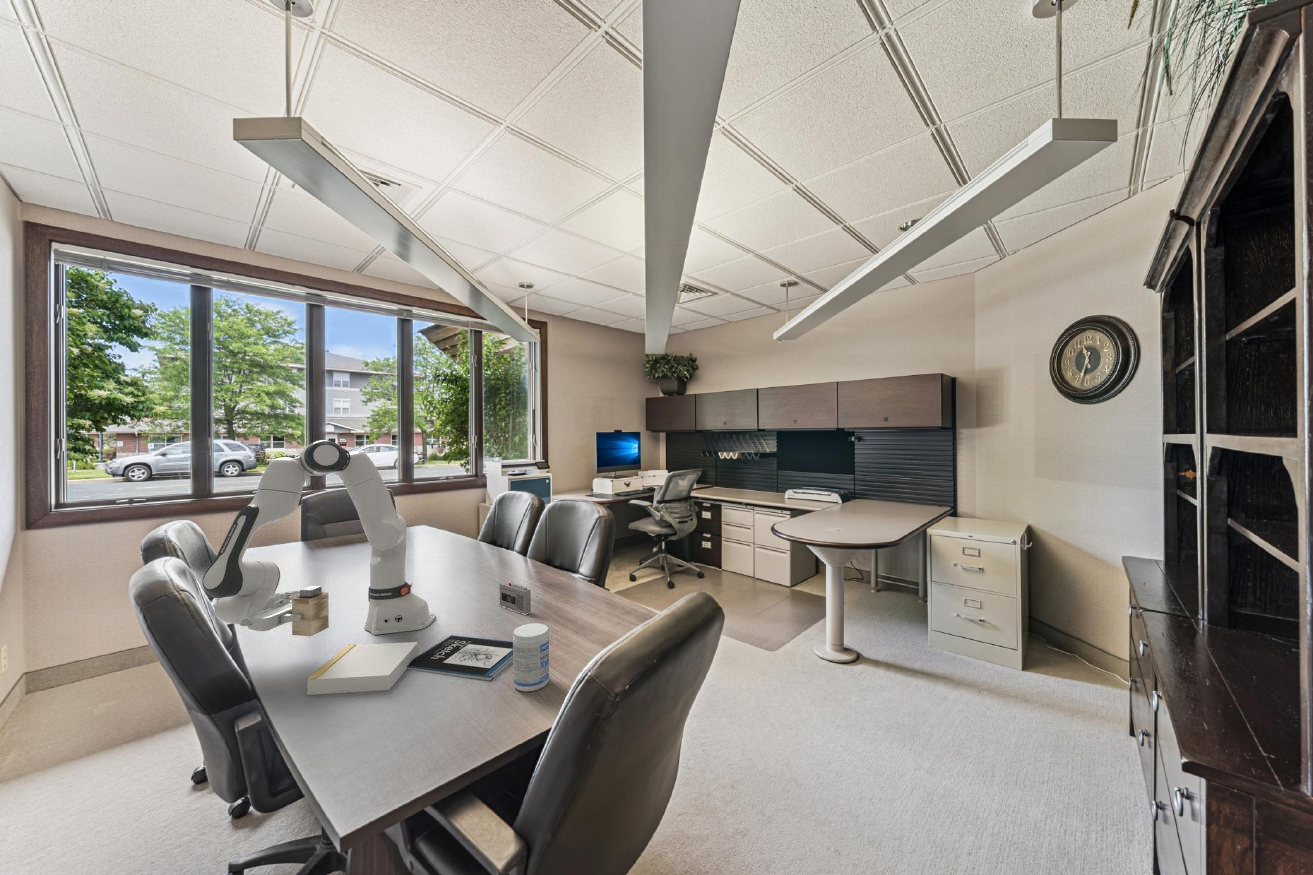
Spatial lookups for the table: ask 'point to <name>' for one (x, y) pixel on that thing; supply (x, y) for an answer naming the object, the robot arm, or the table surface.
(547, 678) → the supplement tub
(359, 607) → the table surface
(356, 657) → the white square slab
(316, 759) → the table surface
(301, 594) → the metal block
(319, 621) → the wooden block
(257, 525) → the robot arm
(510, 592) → the cassette player
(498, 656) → the sketchbook
